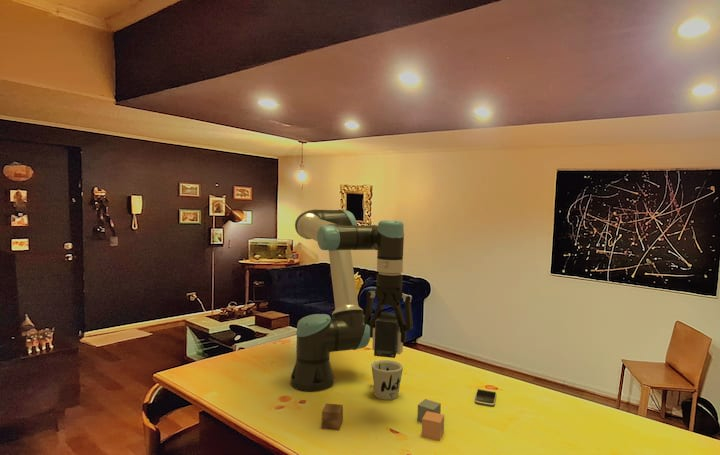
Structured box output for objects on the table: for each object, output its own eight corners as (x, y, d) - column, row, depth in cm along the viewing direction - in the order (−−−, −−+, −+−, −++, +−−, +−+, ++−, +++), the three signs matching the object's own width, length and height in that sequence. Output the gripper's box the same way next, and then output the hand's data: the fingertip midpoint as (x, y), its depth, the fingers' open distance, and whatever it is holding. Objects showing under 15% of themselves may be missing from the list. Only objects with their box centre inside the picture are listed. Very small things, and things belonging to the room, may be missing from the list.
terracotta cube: (421, 436, 117) (422, 418, 116) (426, 428, 121) (426, 411, 121) (439, 441, 115) (440, 422, 114) (443, 432, 119) (444, 414, 119)
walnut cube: (321, 428, 119) (322, 411, 119) (325, 420, 124) (326, 403, 124) (339, 430, 119) (339, 413, 119) (342, 421, 124) (343, 404, 123)
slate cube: (417, 421, 125) (417, 404, 125) (424, 415, 129) (425, 398, 129) (433, 427, 122) (433, 409, 122) (440, 420, 126) (440, 403, 126)
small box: (396, 358, 120) (397, 321, 120) (373, 356, 122) (374, 320, 121) (400, 347, 130) (401, 313, 130) (379, 345, 132) (380, 311, 131)
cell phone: (473, 405, 137) (474, 401, 137) (477, 391, 148) (477, 387, 147) (494, 409, 135) (494, 404, 135) (496, 395, 145) (496, 391, 145)
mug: (380, 404, 135) (381, 373, 135) (358, 386, 148) (359, 358, 148) (408, 398, 140) (409, 368, 140) (384, 381, 153) (385, 354, 153)
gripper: (353, 272, 126) (351, 349, 127) (419, 278, 117) (416, 360, 118) (363, 269, 132) (361, 342, 133) (426, 274, 124) (423, 352, 125)
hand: (387, 350), depth 126 cm, fingers closed on small box, 7 cm apart
